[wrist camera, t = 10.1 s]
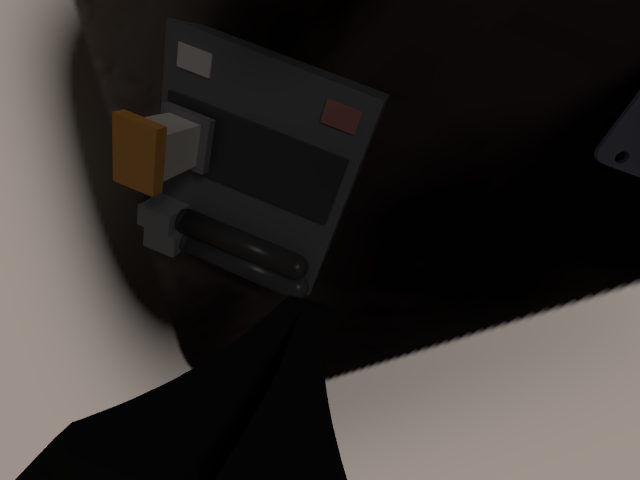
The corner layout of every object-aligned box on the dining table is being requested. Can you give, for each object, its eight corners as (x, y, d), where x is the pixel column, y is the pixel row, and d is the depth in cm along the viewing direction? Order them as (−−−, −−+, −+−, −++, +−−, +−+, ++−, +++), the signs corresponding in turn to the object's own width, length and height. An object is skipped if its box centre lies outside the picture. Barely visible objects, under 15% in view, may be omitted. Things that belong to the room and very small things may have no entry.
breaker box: (389, 94, 17) (381, 105, 12) (321, 268, 22) (299, 315, 18) (204, 24, 17) (136, 12, 13) (183, 210, 23) (131, 243, 19)
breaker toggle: (215, 118, 15) (163, 132, 12) (207, 174, 17) (159, 199, 14) (168, 99, 16) (105, 108, 12) (164, 156, 17) (106, 177, 14)
